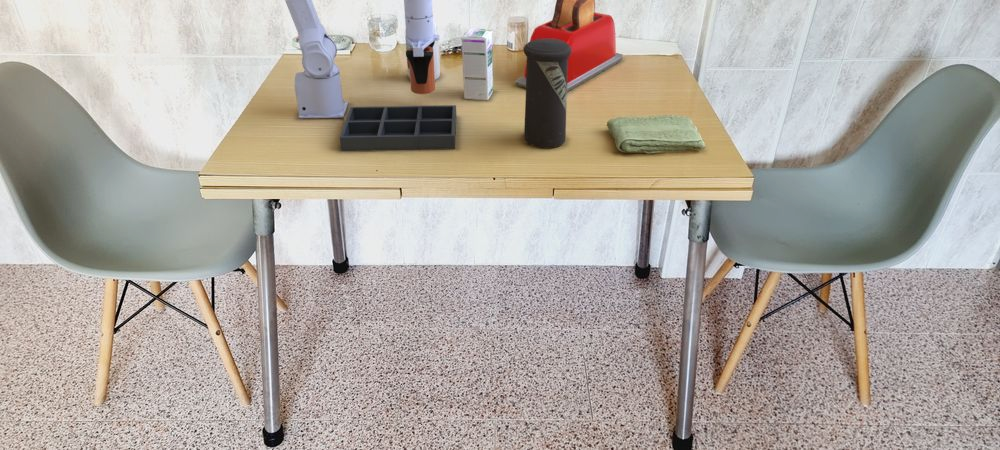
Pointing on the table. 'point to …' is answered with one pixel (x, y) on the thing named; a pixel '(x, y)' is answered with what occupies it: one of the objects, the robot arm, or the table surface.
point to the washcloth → (655, 134)
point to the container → (546, 92)
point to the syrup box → (477, 64)
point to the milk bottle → (435, 52)
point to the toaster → (580, 40)
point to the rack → (399, 128)
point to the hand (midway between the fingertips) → (422, 78)
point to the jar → (430, 84)
